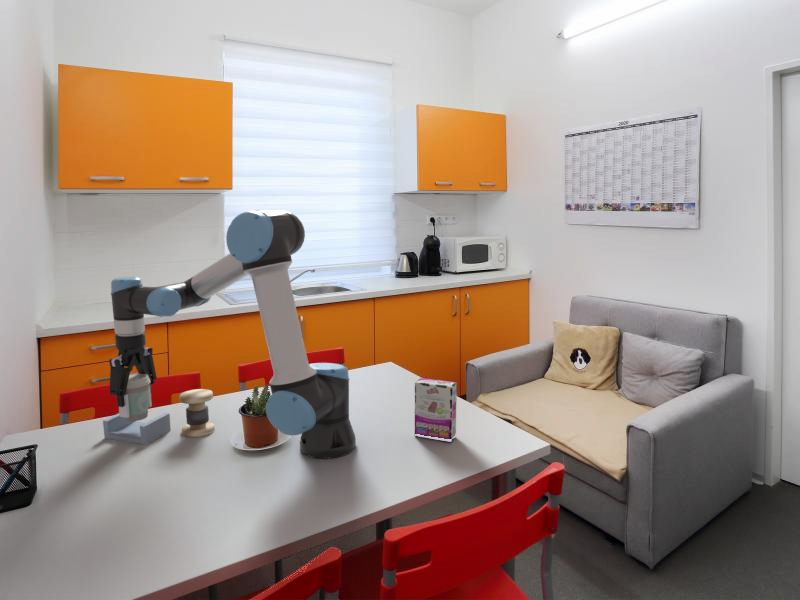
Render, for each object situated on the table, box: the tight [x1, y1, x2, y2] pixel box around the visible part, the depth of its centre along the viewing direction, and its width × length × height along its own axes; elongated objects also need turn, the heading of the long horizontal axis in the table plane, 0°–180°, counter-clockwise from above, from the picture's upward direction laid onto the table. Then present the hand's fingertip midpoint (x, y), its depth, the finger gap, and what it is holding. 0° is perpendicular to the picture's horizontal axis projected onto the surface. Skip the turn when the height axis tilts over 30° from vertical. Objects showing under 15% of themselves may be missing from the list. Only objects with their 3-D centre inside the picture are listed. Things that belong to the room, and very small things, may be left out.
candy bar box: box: [414, 377, 458, 439], centre depth 154 cm, size 11×5×16 cm, turn 68°
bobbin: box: [178, 388, 216, 439], centre depth 157 cm, size 9×9×11 cm
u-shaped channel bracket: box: [102, 412, 171, 445], centre depth 155 cm, size 10×14×5 cm
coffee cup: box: [120, 372, 151, 422], centre depth 154 cm, size 8×8×12 cm
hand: (136, 411), depth 155 cm, fingers closed on coffee cup, 8 cm apart
